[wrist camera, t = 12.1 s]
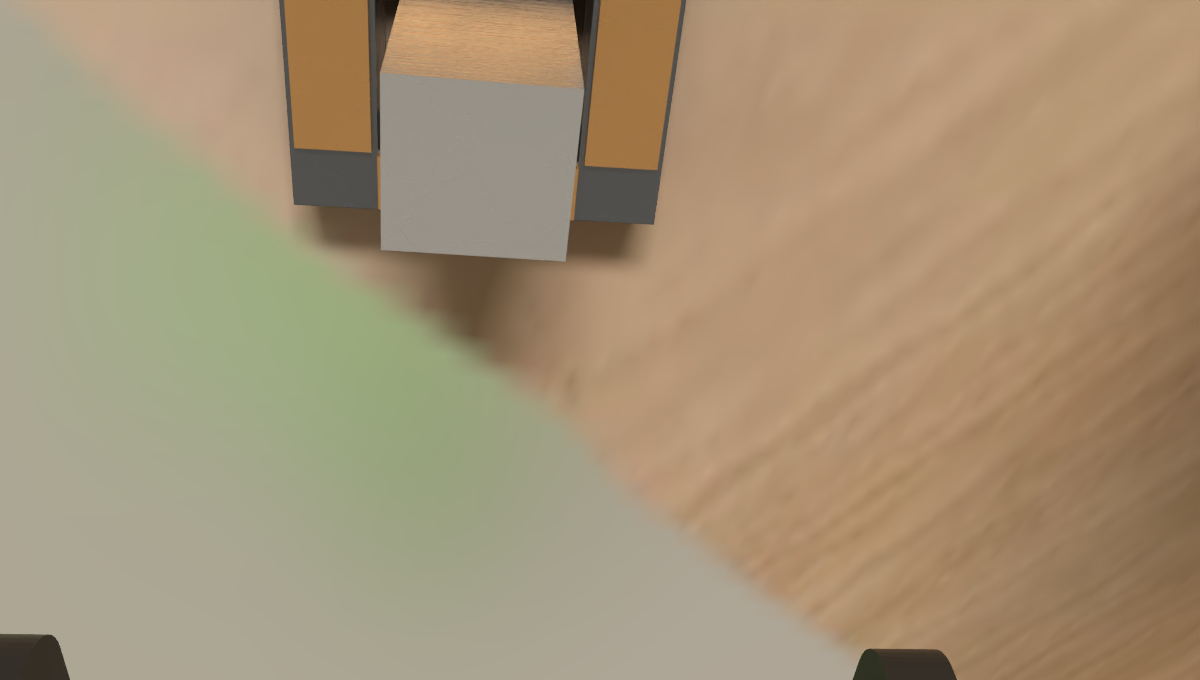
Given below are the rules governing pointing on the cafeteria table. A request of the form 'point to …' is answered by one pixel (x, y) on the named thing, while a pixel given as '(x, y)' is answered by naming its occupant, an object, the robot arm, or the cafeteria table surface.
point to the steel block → (480, 128)
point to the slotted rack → (608, 123)
